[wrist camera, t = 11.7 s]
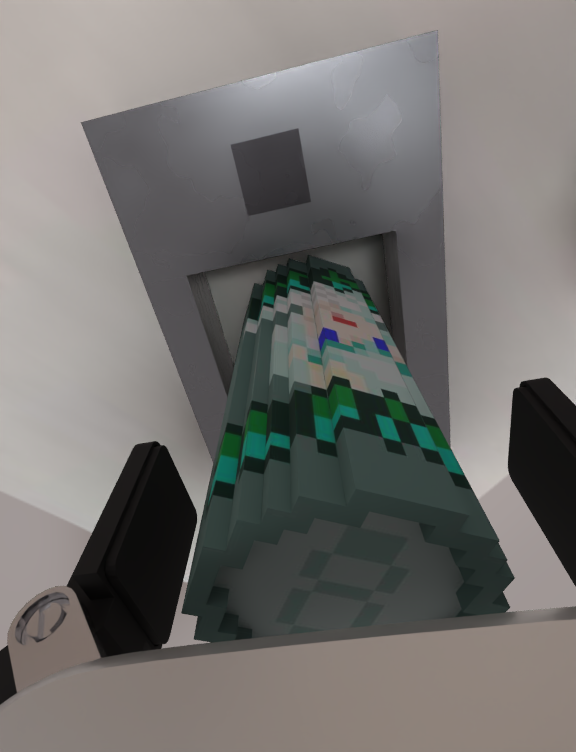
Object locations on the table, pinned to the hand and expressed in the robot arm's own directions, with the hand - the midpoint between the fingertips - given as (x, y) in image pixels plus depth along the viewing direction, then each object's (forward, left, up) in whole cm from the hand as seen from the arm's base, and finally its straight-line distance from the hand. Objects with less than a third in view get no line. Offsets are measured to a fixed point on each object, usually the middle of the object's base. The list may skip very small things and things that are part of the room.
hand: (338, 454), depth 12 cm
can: (0, 0, -11) cm, 11 cm away
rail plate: (+1, +1, -11) cm, 11 cm away
